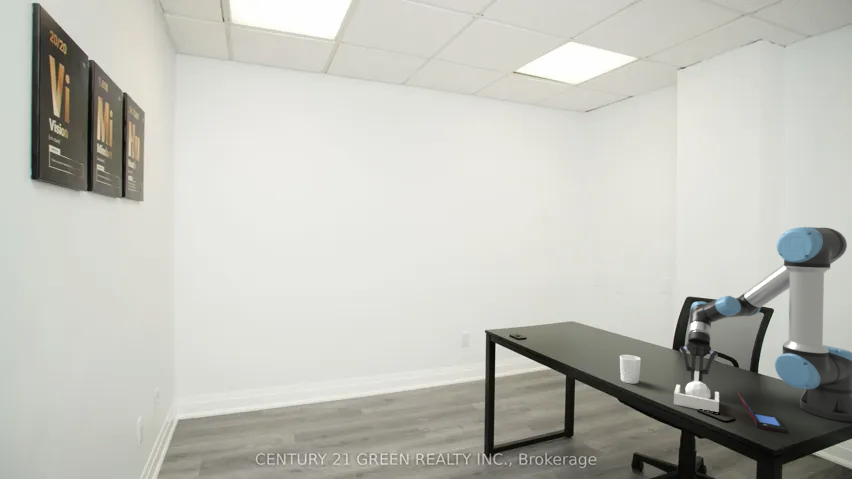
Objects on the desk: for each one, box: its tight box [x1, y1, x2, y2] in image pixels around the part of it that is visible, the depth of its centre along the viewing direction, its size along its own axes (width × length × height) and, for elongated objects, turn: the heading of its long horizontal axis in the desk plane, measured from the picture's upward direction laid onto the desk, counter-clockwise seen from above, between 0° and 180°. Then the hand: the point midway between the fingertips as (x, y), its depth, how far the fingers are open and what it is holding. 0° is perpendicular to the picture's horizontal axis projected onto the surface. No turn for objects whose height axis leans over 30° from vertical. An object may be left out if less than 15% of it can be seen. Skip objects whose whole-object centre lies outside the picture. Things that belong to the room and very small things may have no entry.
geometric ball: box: [684, 380, 711, 399], centre depth 154 cm, size 8×8×8 cm
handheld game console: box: [737, 391, 786, 433], centre depth 139 cm, size 12×11×7 cm
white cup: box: [619, 354, 642, 385], centre depth 176 cm, size 8×8×10 cm
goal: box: [673, 384, 720, 412], centre depth 153 cm, size 11×13×4 cm
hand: (695, 388), depth 159 cm, fingers closed
